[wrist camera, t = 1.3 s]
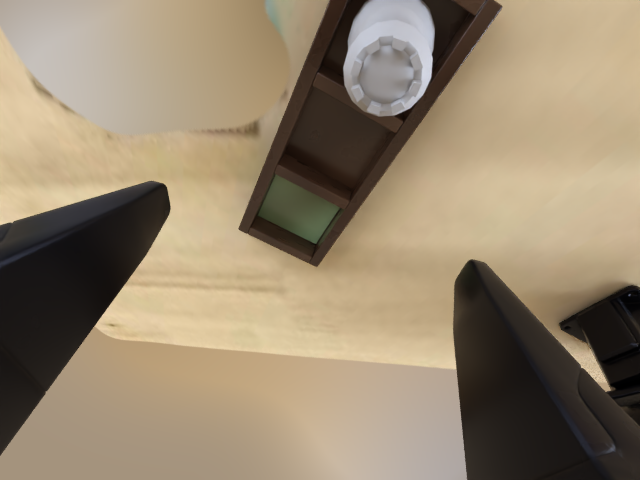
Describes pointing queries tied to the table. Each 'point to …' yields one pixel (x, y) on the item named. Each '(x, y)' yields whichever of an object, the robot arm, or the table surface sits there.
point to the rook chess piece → (389, 55)
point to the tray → (345, 132)
